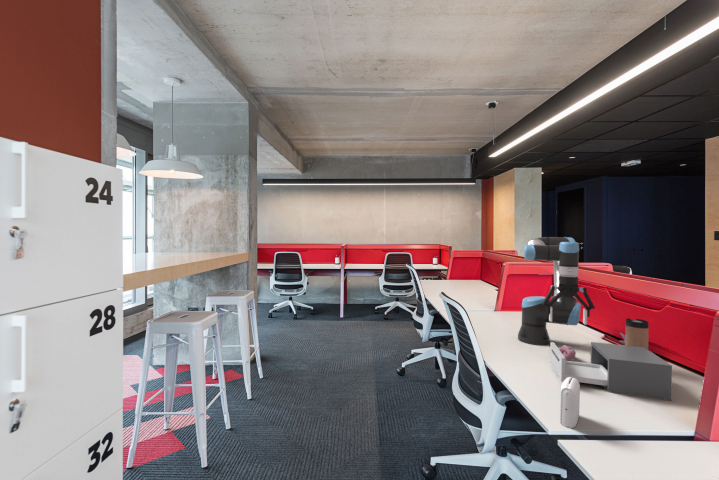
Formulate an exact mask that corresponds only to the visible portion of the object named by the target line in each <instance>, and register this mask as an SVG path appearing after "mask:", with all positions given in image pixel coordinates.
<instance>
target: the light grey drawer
mask: <svg viewBox="0 0 719 480" xmlns="http://www.w3.org/2000/svg"><path fill="white" fill-rule="evenodd" d="M549 347H550V352H549V353H550V355H549V358H550V359H549V363H550V364H551V366H552V368H553V370H554V371H555V373H556V376H557V377H558V378H559V380H560V381H561V382H562V383H563V382H564V380H565V379H566V378H568V377H572V378H575V379H577V380H578V382H579V383H580V384H581V383H584V384H589V385H597V386H603V385H604V386H607V375H608V371H607V370H606V369H605V368H604V367H603V366H602V365H598V364H591V362H589V363H588V362H582V361H581V362H580V361H571V360H570V361H565V359H566V358H565V357H564V356H563V354H562V353H561V352H560V350H559V347H558V346H557V345H556V343H555V342H553V341H550V346H549ZM604 386H603V387H604Z"/></svg>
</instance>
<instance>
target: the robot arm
mask: <svg viewBox="0 0 719 480" xmlns="http://www.w3.org/2000/svg"><path fill="white" fill-rule="evenodd" d="M523 248H524V250H523V251H524V252H523V253H524V254H523V258H524V260H527V261H528V260H529V261H549V262H550V261H552V262H553V285H550V288H549V291H548V293H547V294H546V296H540V295H539V296H537V295H536V296H535V295H533V296H527V297H526V296H525V297H524V298H522V302H521V326H520V327H519V330H518V333H517V339H518V340H519V341H520V342H523V343H525V344H526V343H527V344H530V345H536V346H545V345H549V344H551V341H550V340H551V339H550V334H549V332H548V329H547V323H548V324H557V325H566V326H577V325H578V324H579V321H580V316H581V308H582V306H583V307H584V308H583V309H582V310H583V311H582V324H584V325H585V326H586V325H588V318H589V317H590V314H591V313H590V312H591V310H594V309H596V307H595V305H594V303H593V301H592V299H591V297H590V295H589V294H588V289H587V287H585V286H582V287H579V277H578V276H579V258H580V255H579V254H580V244H579V242H576V240H575V239H574V238H573V237H569V236H568V237H567V236H563V237H559V236H558V237H557V236H543V237H537V238H534V239H531V240H529V242H528V243H527V244H525V245H524V247H523ZM579 291H580V292H581V294H583V297H584V298H585V300H586V302H587V303H586V302H585V301H584V299H583V298H582V297H581V296H580V295H579V294H578V292H579ZM552 295H553V296H552ZM550 299H551V300H550Z"/></svg>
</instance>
